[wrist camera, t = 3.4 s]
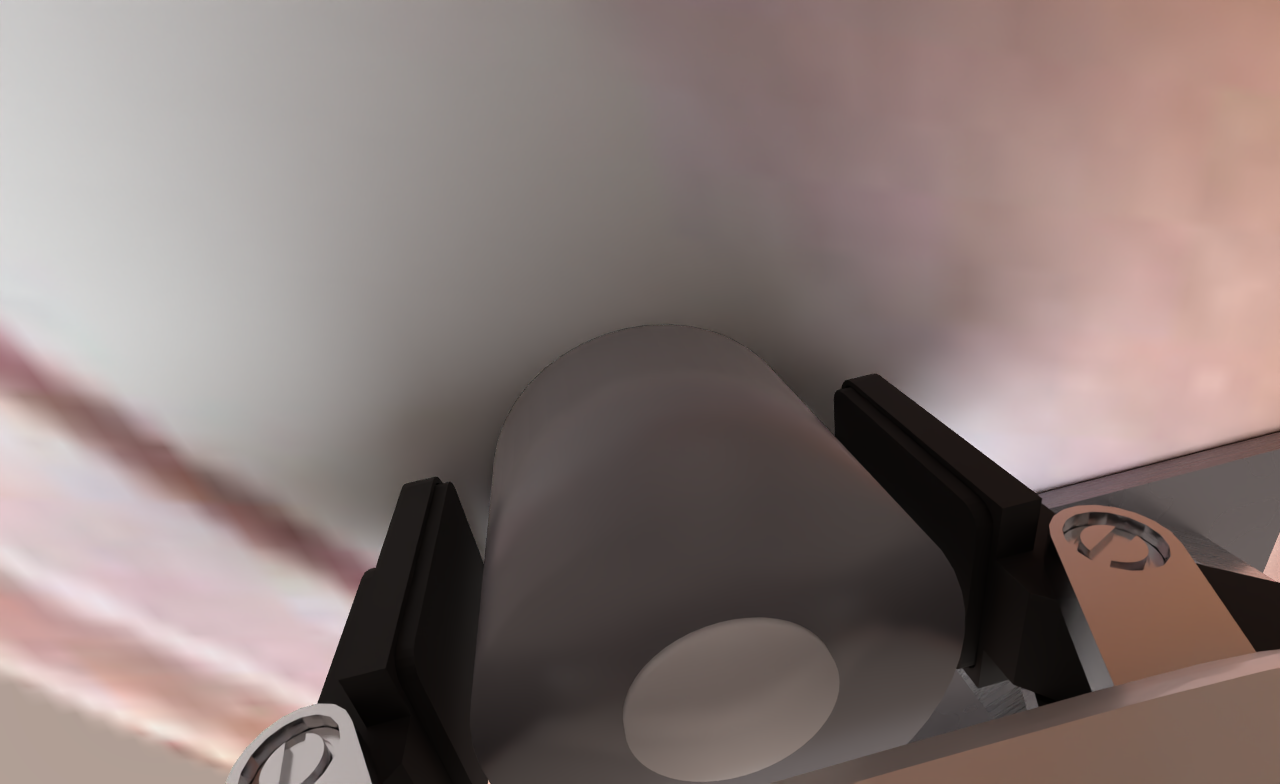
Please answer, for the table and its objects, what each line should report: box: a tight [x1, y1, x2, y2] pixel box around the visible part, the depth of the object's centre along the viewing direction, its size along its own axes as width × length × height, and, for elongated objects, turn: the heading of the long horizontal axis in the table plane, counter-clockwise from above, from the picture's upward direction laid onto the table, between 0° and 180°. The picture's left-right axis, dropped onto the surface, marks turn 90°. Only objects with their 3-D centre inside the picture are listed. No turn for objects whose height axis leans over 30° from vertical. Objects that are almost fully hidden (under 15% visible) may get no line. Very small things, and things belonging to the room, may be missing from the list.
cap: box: [470, 325, 965, 784], centre depth 9 cm, size 6×6×5 cm
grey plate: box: [907, 432, 1280, 744], centre depth 15 cm, size 12×12×4 cm
